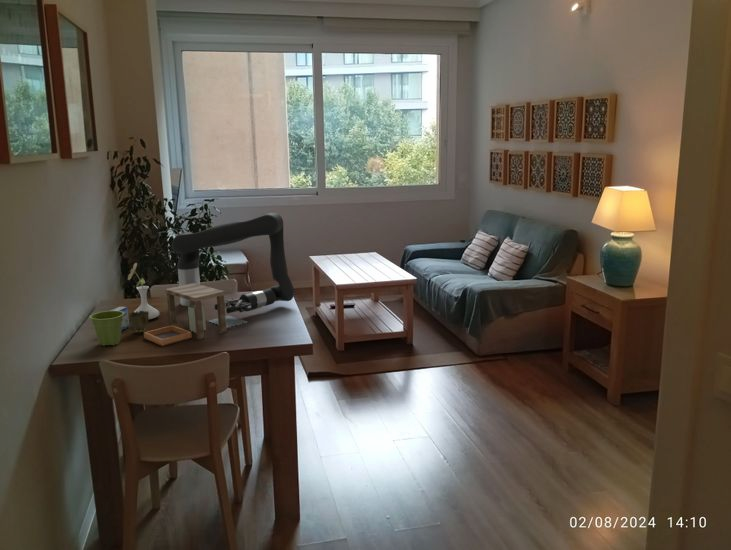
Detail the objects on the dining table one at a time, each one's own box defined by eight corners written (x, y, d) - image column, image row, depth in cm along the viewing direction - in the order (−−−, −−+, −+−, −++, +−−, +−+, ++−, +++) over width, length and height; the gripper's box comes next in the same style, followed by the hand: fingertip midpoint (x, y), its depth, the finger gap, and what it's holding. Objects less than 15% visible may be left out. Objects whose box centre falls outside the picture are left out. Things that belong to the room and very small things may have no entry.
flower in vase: (141, 314, 263) (135, 258, 258) (165, 315, 261) (159, 259, 255) (123, 323, 251) (117, 264, 245) (148, 324, 248) (142, 265, 243)
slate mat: (207, 321, 250) (207, 320, 249) (228, 316, 257) (228, 315, 257) (227, 328, 240) (227, 327, 240) (247, 322, 247) (247, 321, 247)
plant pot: (115, 349, 218) (112, 319, 216) (86, 348, 221) (82, 318, 218) (133, 338, 230) (130, 310, 227) (105, 337, 232) (101, 309, 229)
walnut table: (168, 328, 241) (164, 289, 238) (197, 321, 250) (193, 283, 247) (198, 340, 226) (194, 297, 223) (227, 331, 236) (224, 291, 232)
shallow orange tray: (144, 338, 230) (143, 332, 229) (172, 331, 238) (172, 325, 238) (162, 346, 220) (162, 340, 220) (191, 338, 229) (191, 332, 228)
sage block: (189, 330, 238) (187, 306, 236) (199, 327, 242) (197, 304, 239) (196, 332, 235) (193, 308, 233) (206, 330, 239) (203, 305, 236)
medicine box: (118, 333, 237) (116, 312, 236) (108, 332, 238) (105, 311, 236) (130, 327, 245) (127, 306, 243) (120, 326, 246) (117, 306, 244)
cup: (135, 329, 242) (133, 310, 240) (153, 329, 241) (151, 310, 240) (127, 335, 234) (125, 315, 233) (146, 335, 234) (143, 315, 232)
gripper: (242, 289, 260) (210, 297, 249) (262, 294, 251) (230, 303, 239) (243, 306, 262) (211, 314, 250) (264, 312, 252) (231, 321, 241)
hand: (220, 309), depth 245 cm, fingers open, 8 cm apart
